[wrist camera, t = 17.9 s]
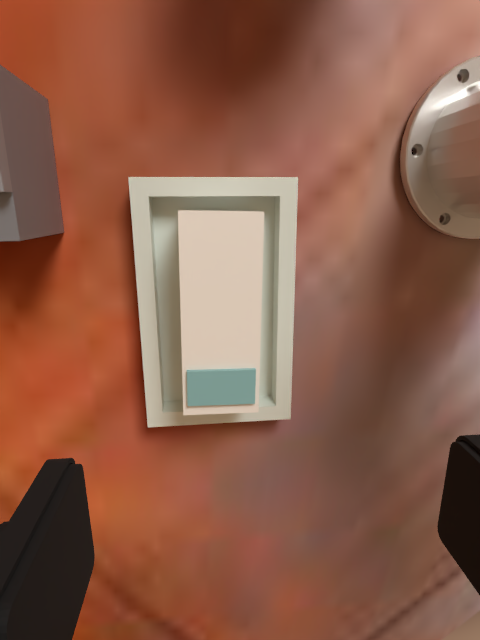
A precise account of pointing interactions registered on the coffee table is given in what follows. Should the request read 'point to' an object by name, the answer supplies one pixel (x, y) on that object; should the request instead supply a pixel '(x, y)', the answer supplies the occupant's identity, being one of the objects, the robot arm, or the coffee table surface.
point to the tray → (164, 286)
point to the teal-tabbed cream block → (220, 309)
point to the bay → (26, 164)
